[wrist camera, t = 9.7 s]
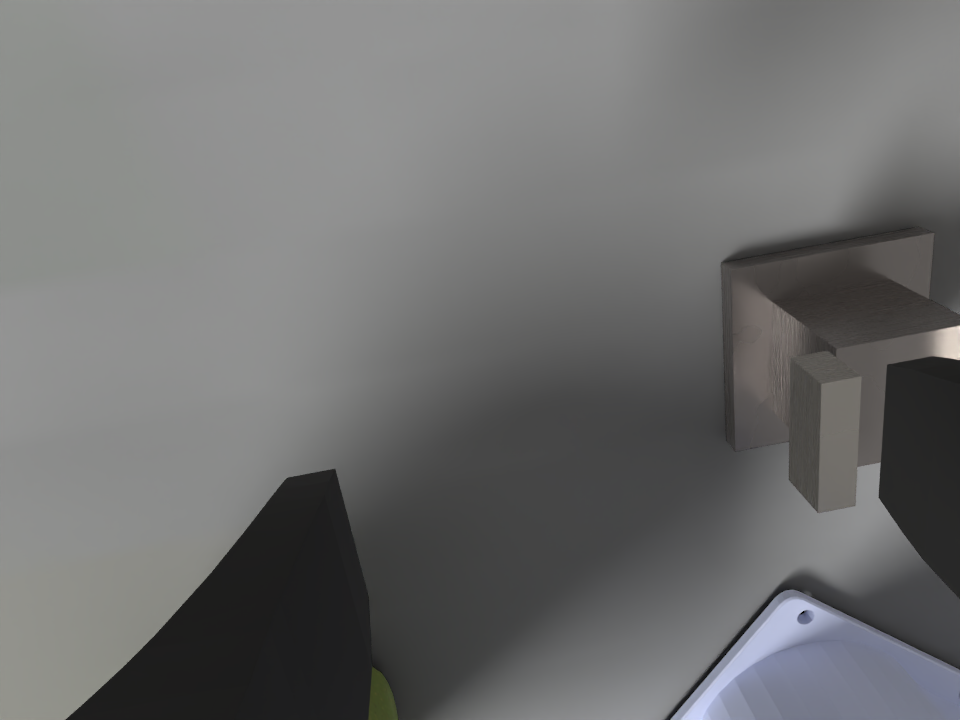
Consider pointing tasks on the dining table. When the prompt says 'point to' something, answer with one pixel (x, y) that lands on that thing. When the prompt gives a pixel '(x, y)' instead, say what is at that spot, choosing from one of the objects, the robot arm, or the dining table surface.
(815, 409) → the standards
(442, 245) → the dining table surface
